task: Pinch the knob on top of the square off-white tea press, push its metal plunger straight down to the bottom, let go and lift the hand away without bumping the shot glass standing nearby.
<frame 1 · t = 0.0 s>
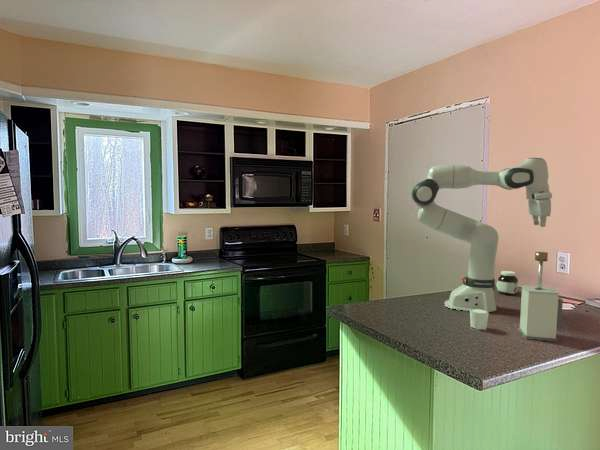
hand: (539, 225, 183), 39 cm above the countertop, tool pointing down, fingers open, 8 cm apart
spread jar: (505, 293, 221), on the countertop
plunger: (540, 279, 154), point 22 cm above the countertop, slide at 0.0 cm
shot glass: (478, 328, 163), on the countertop
press: (537, 335, 155), on the countertop
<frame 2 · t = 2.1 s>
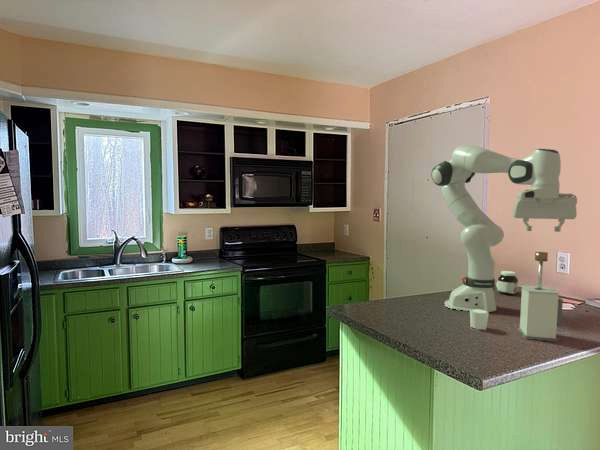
hand: (542, 231, 152), 39 cm above the countertop, tool pointing down, fingers open, 8 cm apart
nothing on the countertop moved.
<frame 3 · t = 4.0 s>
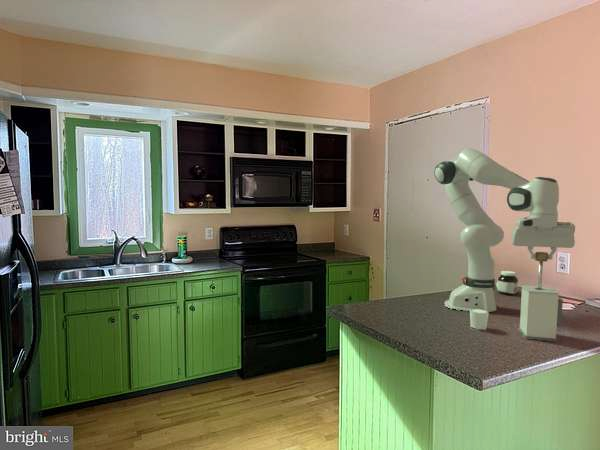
hand: (541, 258, 153), 29 cm above the countertop, tool pointing down, fingers closed on plunger, 4 cm apart
plunger: (540, 279, 154), point 21 cm above the countertop, slide at 0.0 cm, touching gripper
everything else where it was.
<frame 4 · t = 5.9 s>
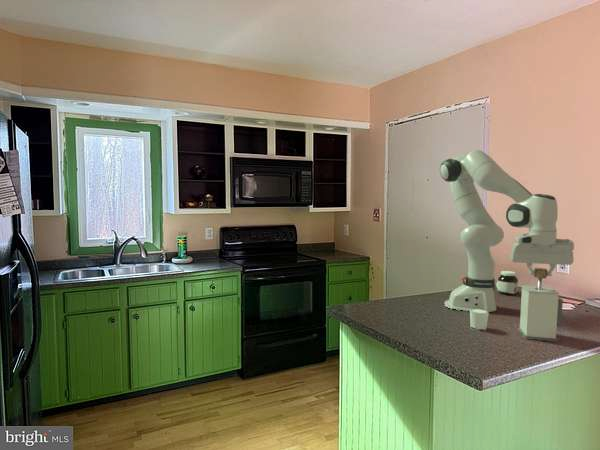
hand: (540, 275, 154), 23 cm above the countertop, tool pointing down, fingers closed on plunger, 4 cm apart
plunger: (539, 295, 154), point 15 cm above the countertop, slide at 6.2 cm, touching gripper
everything else where it was.
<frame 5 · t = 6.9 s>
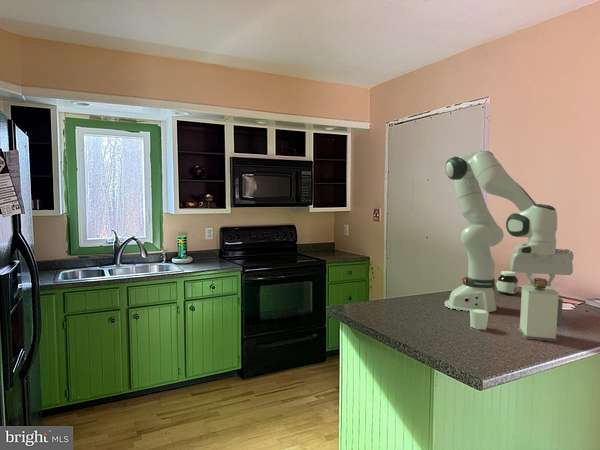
hand: (539, 285, 154), 19 cm above the countertop, tool pointing down, fingers closed on plunger, 4 cm apart
plunger: (538, 305, 154), point 12 cm above the countertop, slide at 9.9 cm, touching gripper
everything else where it was.
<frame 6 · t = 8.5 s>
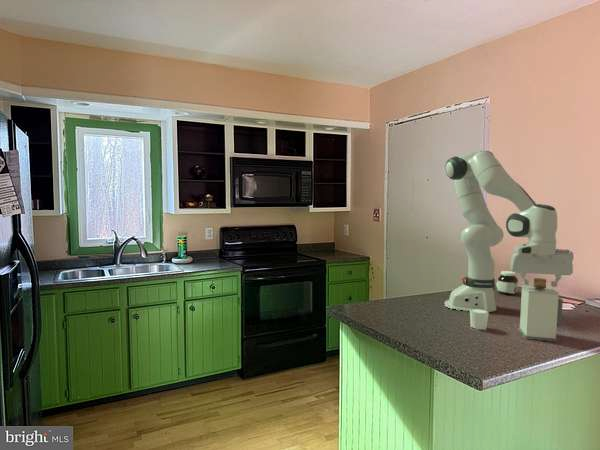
hand: (539, 285, 154), 19 cm above the countertop, tool pointing down, fingers open, 8 cm apart
plunger: (538, 305, 154), point 11 cm above the countertop, slide at 10.0 cm
everything else where it was.
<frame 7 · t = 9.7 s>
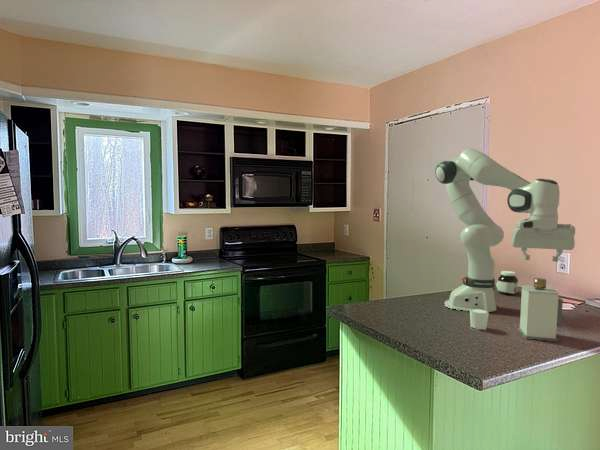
hand: (540, 260, 153), 28 cm above the countertop, tool pointing down, fingers open, 8 cm apart
nothing on the countertop moved.
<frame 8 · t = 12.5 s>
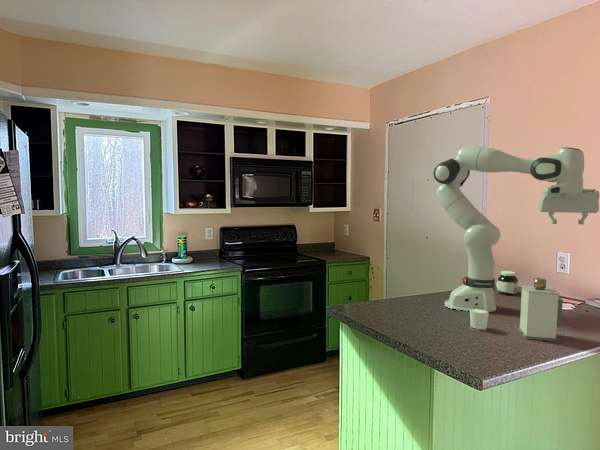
hand: (567, 224, 164), 41 cm above the countertop, tool pointing down, fingers open, 8 cm apart
nothing on the countertop moved.
at the end: plunger slide at 10.0 cm; the gripper is holding nothing; shot glass moved 0.2 cm from its start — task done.
